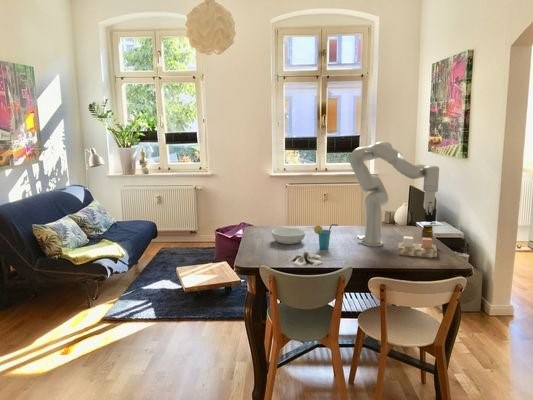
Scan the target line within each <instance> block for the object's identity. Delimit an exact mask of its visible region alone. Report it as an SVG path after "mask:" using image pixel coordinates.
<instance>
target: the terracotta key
mask: <svg viewBox="0 0 533 400" xmlns="http://www.w3.org/2000/svg"><path fill="white" fill-rule="evenodd" d="M421 242H422V247H421V248H426V249H432V244H433V238H432V239H431V238H422V237H421Z"/></svg>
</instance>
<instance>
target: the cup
mask: <svg viewBox="0 0 533 400" xmlns="http://www.w3.org/2000/svg"><path fill="white" fill-rule="evenodd" d="M329 226H330V227H329V229H323V227H322V226H321V225H316V226H314V229H313V231H314V233H315V234H317V235H318V243H319V244H318V245H319V247H318V248H319V250H321V251H328V250H329V249H330V248H329V247H330V240H331V239H330V238H331V232H332V231H331V230H332V226H335V227H338V224H336V223H331V224H330V225H329Z"/></svg>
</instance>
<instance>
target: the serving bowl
mask: <svg viewBox="0 0 533 400" xmlns="http://www.w3.org/2000/svg"><path fill="white" fill-rule="evenodd" d="M271 236H272V238H273V240H275V242H278V243H280V244H283V245H293V244H298V243H300V242H302V241H303V240H304V239H305V236H306V231H305V230H304V229H300V228H295V227H281V228H280V227H279V228H275V229H272V231H271Z"/></svg>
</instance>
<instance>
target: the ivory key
mask: <svg viewBox="0 0 533 400" xmlns="http://www.w3.org/2000/svg"><path fill="white" fill-rule="evenodd" d="M402 243H403V247H413V243H414V237H413V236H407V235H404V236H403V241H402Z"/></svg>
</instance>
